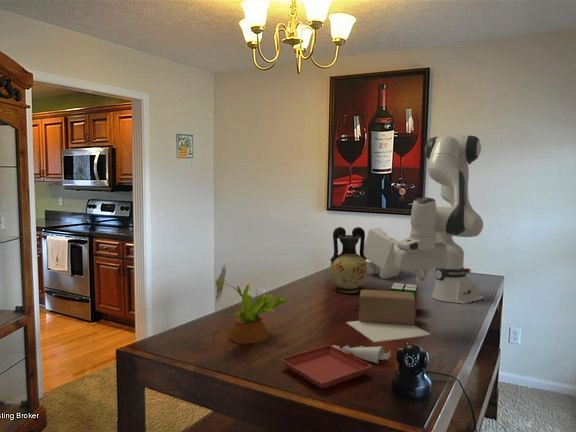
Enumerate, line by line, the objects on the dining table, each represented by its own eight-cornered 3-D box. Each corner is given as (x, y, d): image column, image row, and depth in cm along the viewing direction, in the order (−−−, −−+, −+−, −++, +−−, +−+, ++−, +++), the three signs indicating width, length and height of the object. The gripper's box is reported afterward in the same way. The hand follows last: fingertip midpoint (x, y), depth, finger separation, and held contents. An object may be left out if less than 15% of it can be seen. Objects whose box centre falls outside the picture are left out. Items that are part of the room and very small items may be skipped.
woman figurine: (384, 355, 126) (324, 348, 134) (385, 371, 126) (324, 363, 134) (393, 341, 136) (337, 336, 144) (394, 356, 137) (338, 349, 145)
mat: (398, 317, 173) (398, 316, 173) (430, 335, 154) (431, 334, 154) (346, 323, 166) (346, 322, 166) (374, 342, 147) (374, 341, 147)
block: (416, 299, 161) (359, 295, 165) (415, 326, 162) (358, 322, 166) (413, 291, 171) (360, 288, 175) (412, 317, 172) (359, 313, 176)
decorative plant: (222, 323, 164) (222, 255, 161) (288, 325, 163) (289, 256, 161) (206, 353, 137) (206, 271, 134) (286, 355, 136) (287, 273, 134)
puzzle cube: (417, 308, 185) (418, 284, 184) (415, 316, 176) (416, 290, 175) (392, 306, 188) (392, 282, 187) (389, 313, 179) (390, 288, 178)
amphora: (356, 285, 223) (358, 224, 221) (373, 293, 207) (375, 228, 205) (323, 287, 218) (325, 225, 215) (338, 296, 202) (340, 229, 199)
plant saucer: (321, 395, 113) (321, 382, 112) (280, 369, 127) (280, 357, 127) (372, 377, 123) (372, 365, 123) (328, 355, 138) (329, 344, 137)
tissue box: (378, 265, 259) (392, 225, 250) (400, 279, 248) (415, 238, 240) (355, 270, 245) (369, 228, 237) (378, 285, 235) (393, 242, 226)
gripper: (440, 241, 168) (439, 277, 169) (393, 242, 161) (391, 281, 162) (452, 243, 162) (450, 281, 163) (403, 245, 155) (401, 285, 156)
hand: (420, 281), depth 163 cm, fingers closed
